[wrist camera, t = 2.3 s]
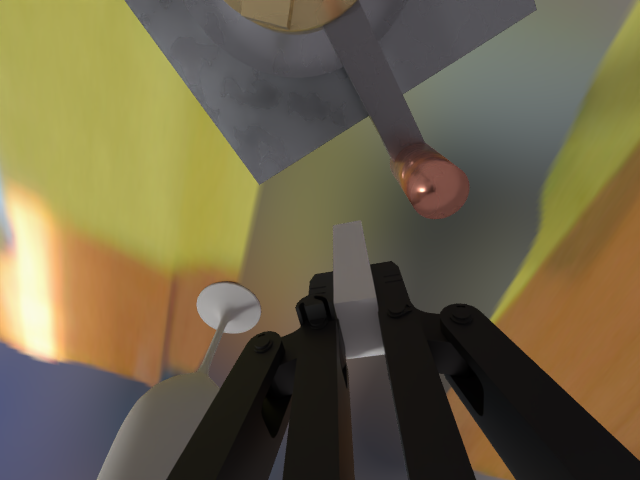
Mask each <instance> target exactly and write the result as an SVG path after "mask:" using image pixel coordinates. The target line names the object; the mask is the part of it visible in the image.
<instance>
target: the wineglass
mask: <svg viewBox="0 0 640 480" xmlns="http://www.w3.org/2000/svg"><path fill="white" fill-rule="evenodd" d="M197 310H198V313H199V315H200V317H201V318H202V319H203V320H204V322H205V323H207V324H208V325H209V326H210V327H212V328H214V329H216V333H215V335H214V337H213V340H212V342H211V344H210V347H209V349H208V351H207V354H206V356H205V358H204V361H203V363H202V365H201V366H200V368H199V369H198V371H196V372H195V373H189V374H183V375H178V376H174V377H172V378H169V379H167V380H165V381H163V382H160V383H158V384H156V385H155V386H154V387H152V388H151V389H150V390H149V391H148V392H146V393H145V394H144V395H143V396H142V397H141V398H140V399H139V400H138V401H137V402H136V404H135V405H134V406H133V408H132V409H131V411H130V412H129V414H128V416H127V417H126V419H125V421H124V422H123V424H122V426H121V428H120V430H119V432H118V434H117V436H116V438H115V440H114V442H113V444H112V446H111V449H110V451H109V453H108V456H107V458H106V460H105V462H104V464H103V467H102V469H101V471H100V474H99V476H98V478H97V480H166V479H167V477H168V475H169V474H170V472H171V470H172V469H173V467H174V465H175V464H176V462H177V460H178V459H179V457H180V455H181V454H182V452H183V450H184V449H185V447H186V445H187V444H188V442H189V440H190V439H191V437H192V435H193V433H194V432H195V430H196V428H197V427H198V425H199V423H200V422H201V420H202V418H203V417H204V415H205V413H206V412H207V410H208V408H209V407H210V405H211V403H212V402H213V400H214V398H215V397H216V395H217V393H218V392H219V390H220V388H219V387H218V386H217V385H216V384H215V383H214V382H213V381H212V379H210V378H209V375H208V373H209V368H210V364H211V362H212V359H213V357H214V354H215V352H216V349H217V347H218V344H219V342H220V339H221V337H222V334H223V332H226V333H241V332H245V331H247V330H249V329H251V328H253V327H254V326H255V325H256V324H257V322H258V321H259V319H260V315H261V306H260V303H259V300H258V299H257V297H256V296H255V295H254V294H253V293H252V292H251V291H250V290H249V289H247V288H245V287H244V286H242V285H239V284H236V283H231V282H218V283H214V284H211V285H209V286H207V287H206V288H205V289H204V290H203V291H202V292H201V293H200V295H199V297H198V299H197Z"/></svg>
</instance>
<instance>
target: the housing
mask: <svg viewBox="0 0 640 480" xmlns="http://www.w3.org/2000/svg"><path fill="white" fill-rule="evenodd" d="M125 2H126V3H127V4H128V6H129V7H130V8H131V10H132V11H133V13H134V14H135V15H136V17H137V18H138V19H139V21H140V22H141V24H142V25H143V26H144V28H145V29H146V30H147V32H148V33H149V34H150V36H151V37H152V39H153V40H154V41H155V43H156V44H157V45H158V47H159V48H160V49H161V51H162V52H163V54H164V55H165V56H166V58H167V59H168V60H169V62H170V63H171V65H172V66H173V67H174V69H175V70H176V71H177V73H178V74H179V75H180V77H181V78H182V80H183V81H184V82H185V84H186V85H187V86H188V88H189V89H190V90H191V92H192V93H193V95H194V96H195V97H196V99H197V100H198V101H199V103H200V104H201V106H202V107H203V108H204V110H205V111H206V112H207V114H208V115H209V116H210V118H211V119H212V121H213V122H214V123H215V125H216V126H217V127H218V129H219V130H220V131H221V133H222V134H223V136H224V137H225V138H226V140H227V141H228V142H229V144H230V145H231V147H232V148H233V149H234V151H235V152H236V153H237V155H238V156H239V157H240V159H241V160H242V162H243V163H244V164H245V166H246V167H247V168H248V170H249V171H250V173H251V174H252V175H253V177H254V178H255V179H256V181H257V182H258V183H259V185H260V184H261V183H263V182H265V181H266V180H268V179H269V178H271V177H272V176H274V175H276V174H277V173H279V172H280V171H282V170H284V169H285V168H287V167H288V166H290V165H291V164H293V163H295V162H296V161H298V160H299V159H301V158H303V157H304V156H306V155H307V154H309V153H310V152H312V151H314V150H315V149H317V148H318V147H320V146H322V145H323V144H325V143H326V142H328V141H330V140H331V139H333V138H334V137H336V136H337V135H339V134H341V133H342V132H344V131H345V130H347V129H349V128H350V127H352V126H353V125H354V124H356V123H358V122H360V121H361V120H363V119H364V118H366V117H368V116H369V115H368V113H367V111H366V109H365V108H364V106H363V104H362V102H361V100H360V98H359V96H358V94H357V92H356V90H355V88H354V86H353V85H352V83H351V81H350V79H349V77H348V75H347V73H346V71H345V69H344V67H343V65H342V63H341V62H340V60H339V58H338V56H337V54H336V52H335V50H334V48H333V46H332V44H331V42H330V40H329V38H328V37H327V35H326V33H325V31H324V29H322V30H320V31H317V32H313V33H310V34H302V35H287V34H282V33H276V32H273V31H271V30H268V29H265V28H263V27H261V26H259V25H257V24H255V23H254V22H252V21H250V20H248V19H246V18H245V17H243V16H241V14H240V13H238V12H237V11H235V10H234V9H233V8H231V7H230V6H229V5H228V4H227V3H226V2H225V1H224V0H125ZM359 2H360V4H361V6H362V8H363V10H364V12H365V15H366V17H367V19H368V21H369V23H370V25H371V28H372V30H373V32H374V34H375V36H376V38H377V40H378V43H379V45H380V47H381V49H382V51H383V53H384V56H385V58H386V60H387V62H388V64H389V66H390V69H391V71H392V73H393V75H394V77H395V79H396V81H397V84H398V86H399V88H400V90H401V92H402V94H404V93H406V92H407V91H409V90H410V89H412V88H414V87H415V86H417V85H418V84H420V83H421V82H423V81H425V80H426V79H428V78H429V77H431V76H433V75H434V74H435V73H437V72H439V71H440V70H442V69H443V68H445V67H447V66H448V65H450V64H452V63H453V62H455V61H456V60H458V59H459V58H461V57H463V56H464V55H466V54H467V53H469V52H471V51H472V50H474V49H475V48H477V47H479V46H480V45H482V44H483V43H485V42H486V41H488V40H490V39H491V38H493V37H494V36H496V35H498V34H499V33H501V32H502V31H504V30H505V29H507V28H509V27H510V26H512V25H513V24H515V23H517V22H518V21H519V20H521V19H523V18H524V17H526V16H527V15H529V14H531V13H532V12H534V11H536V5H535V1H534V0H360V1H359Z"/></svg>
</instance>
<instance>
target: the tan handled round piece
mask: <svg viewBox="0 0 640 480" xmlns="http://www.w3.org/2000/svg"><path fill="white" fill-rule="evenodd" d="M224 1H225V2H226V3H227V4H228V5H229V6H230V7H231V8H233V9H234V10H235V11H237V12H238V13H240V14H241V16H243V17H245V18H246V19H248V20H250V21H252V22H254V23H255V24H257V25H259V26H261V27H263V28H265V29H268V30H271V31H273V32H276V33H282V34H287V35H302V34H310V33H313V32H317V31H320V30H322V29H324V31H325V33H326V35H327V37H328V38H329V40H330V42H331V44H332V46H333V48H334V50H335V52H336V54H337V56H338V58H339V60H340V62H341V63H342V65H343V67H344V69H345V71H346V73H347V75H348V77H349V79H350V81H351V83H352V85H353V86H354V88H355V90H356V92H357V94H358V96H359V98H360V100H361V102H362V104H363V106H364V108H365V109H366V111H367V113H368V115H369V117H370V119H371V121H372V123H373V125H374V127H375V129H376V131H377V133H378V134H379V136H380V138H381V140H382V142H383V144H384V146H385V147H386V150H387V151H388V154H389V155H390V157H391V158H390V168H391V171H392V173H393V175H394V176H395V178H396V179H397V181H398V183H399V184H400V186H401V187H402V189H403V191H404V192H405V194H406V196H407V197H408V199H409V201H410V202H411V204H412V205H413V207H414V209H415V210H416V211H417V212H418V213H419V214H420V215H422V216H424V217H426V218H430V219H441V218H445V217H448V216H450V215H452V214H454V213H455V212H457V211H458V210H459V209H460V208H461V207H462V206H463V204H464V203H465V201H466V200H467V197H468V194H469V181H468V178H467V176H466V175H465V173H464V172H463V171H462V170H460V169H459V168H458V167H457V166H455V165H454V164H452V163H451V162H450V161H449V160H447V159H446V158H445V157H444V156H442V155H441V154H440V153H438V152H437V151H436V150H434V149H433V148H431V147H430V146H429V145H428V144H426V143H425V142H424V140H423V138H422V135H421V133H420V131H419V129H418V127H417V125H416V123H415V121H414V118H413V116H412V114H411V112H410V109H409V107H408V105H407V103H406V101H405V99H404V97H403V94H402V92H401V90H400V88H399V86H398V84H397V81H396V79H395V77H394V75H393V73H392V71H391V69H390V66H389V64H388V62H387V60H386V58H385V56H384V53H383V51H382V49H381V47H380V45H379V43H378V40H377V38H376V36H375V34H374V32H373V30H372V28H371V25H370V23H369V21H368V19H367V17H366V15H365V12H364V10H363V8H362V6H361V4H360V2H359V1H360V0H224Z"/></svg>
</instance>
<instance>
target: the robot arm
mask: <svg viewBox="0 0 640 480" xmlns="http://www.w3.org/2000/svg"><path fill="white" fill-rule="evenodd" d="M295 308H296V311H297V315H298V318H299V321H300V324H301V327H300V328H299V329H298V330H296V331H295V332H293V333H291V334H288V335H286V336H284V337H280V335H279V334H277V333H276V332H272V331H268V332H262V333H260V334H257V335H256V336H254V337H253V338H251V340H250V341H249V342H248V343H247V345H246V346H245V348H244V350H243V351H242V353H241V355H240V356H239V358H238V360H237V361H236V363H235V365H234V366H233V368H232V370H231V371H230V373H229V375H228V376H227V378H226V380H225V382H224V383H223V385H222V387H221V388H220V390H219V392H218V393H217V395H216V397H215V398H214V400H213V402H212V403H211V405H210V407H209V408H208V410H207V412H206V413H205V415H204V417H203V418H202V420H201V422H200V423H199V425H198V427H197V428H196V430H195V432H194V433H193V435H192V437H191V439H190V440H189V442H188V444H187V445H186V447H185V449H184V450H183V452H182V454H181V455H180V457H179V459H178V460H177V462H176V464H175V465H174V467H173V469H172V470H171V472H170V474H169V475H168V477H167V479H166V480H268V478H269V476H270V473H271V470H272V467H273V464H274V461H275V459H276V456H277V453H278V450H279V448H280V445H281V442H282V439H283V436H284V434H285V431H286V428H287V425H288V422H289V429H288V438H287V446H286V455H285V463H284V471H283V480H355V475H354V459H353V443H352V427H351V426H352V425H351V409H350V392H349V377H348V376H349V375H348V368H347V364H346V357H347V359H351V358H359V357H366V356H374V355H383V354H385V358H386V364H387V370H388V376H389V380H390V386H391V391H392V396H393V402H394V407H395V413H396V418H397V424H398V429H399V434H400V440H401V444H402V451H403V456H404V461H405V467H406V472H407V477H408V480H476V478H475V476H474V472H473V470H472V467H471V464H470V461H469V458H468V455H467V453H466V450H465V447H464V444H463V441H462V438H461V436H460V433H459V430H458V427H457V424H456V421H455V419H454V416H453V413H452V410H451V407H450V404H449V402H448V399H447V396H446V393H445V390H444V387H443V385H442V382H441V379H440V376H439V373H440V374H444V376H445V378H446V379H447V381H448V382H449V384H450V385H451V387H452V388H453V390H454V391H455V392H456V394H457V395H458V397H459V398H460V400H461V401H462V403H463V404H464V405H465V407H466V408H467V410H468V411H469V413H470V414H471V415H472V417H473V418H474V420H475V421H476V423H477V424H478V426H479V427H480V428H481V430H482V431H483V433H484V434H485V436H486V437H487V439H488V440H489V441H490V443H491V444H492V446H493V447H494V449H495V450H496V452H497V453H498V454H499V456H500V457H501V459H502V460H503V462H504V463H505V464H506V466H507V467H508V469H509V470H510V472H511V473H512V475H513V476H514V477H515V479H516V480H640V461H639V460H638V459H637V458H636V457H635V456H634V455H633V454H632V453H631V452H630V451H629V450H627V449H626V448H625V447H624V446H623V445H622V444H621V443H620V442H619V441H618V440H617V439H616V438H615V437H614V436H613V435H611V434H610V433H609V432H608V431H607V430H606V429H605V428H604V427H603V426H602V425H601V424H600V423H599V422H598V421H597V420H596V419H594V418H593V417H592V416H591V415H590V414H589V413H588V412H587V411H586V410H585V409H584V408H583V407H582V406H581V405H580V404H578V403H577V402H576V401H575V400H574V399H573V398H572V397H571V396H570V395H569V394H568V393H567V392H566V391H565V390H564V389H563V388H561V387H560V386H559V385H558V384H557V383H556V382H555V381H554V380H553V379H552V378H551V377H550V376H549V375H548V374H547V373H545V372H544V371H543V370H542V369H541V368H540V367H539V366H538V365H537V364H536V363H535V362H534V361H533V360H532V359H531V358H529V357H528V356H527V355H526V354H525V353H524V352H523V351H522V350H521V349H520V348H519V347H518V346H517V345H516V344H515V343H514V342H512V341H511V340H510V339H509V338H508V337H507V336H506V335H505V334H504V333H503V332H502V331H501V330H500V329H499V328H498V327H496V326H495V325H494V324H493V323H492V322H491V321H490V320H489V319H488V318H487V317H486V316H485V315H484V314H483V313H482V312H480V311H479V310H478V309H476V308H475V307H473V306H470V305H467V304H452V305H449V306H447V307H445V308H444V309H443V310H442V311H441V312H440V314H434V313H427V312H423V311H420V310H418V309H416V308H415V307H414V306H413V304H412V303H411V302H410V299H409V297H408V293H407V290H406V287H405V285H404V282H403V279H402V276H401V273H400V270H399V267H398V266H397V265H396V264H394V263H393V262H392V261H390V262H383V263H377V264H371V265H370V263H369V258H368V253H367V248H366V243H365V238H364V233H363V228H362V223H361V221H355V222H350V223H343V224H338V225H333V271H332V272H326V273H320V274H315V275H314V276H313V278H312V279H311V281H310V286H309V295H308V296H306V297H304V298H302V299H301V300H300V301H299V302H298V303H297V305H296V307H295Z"/></svg>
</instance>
